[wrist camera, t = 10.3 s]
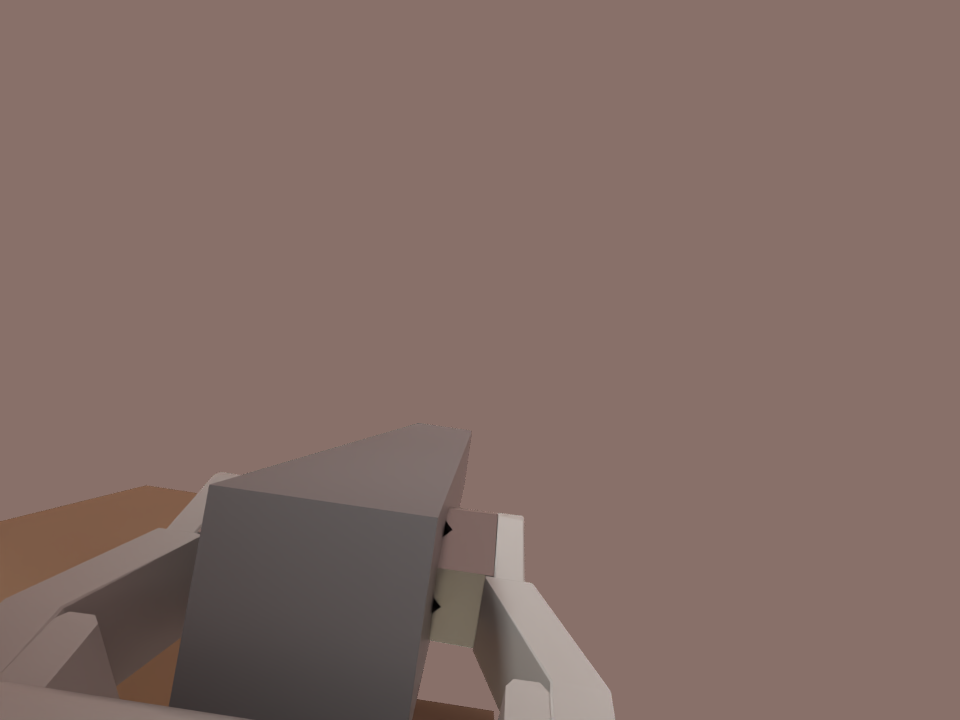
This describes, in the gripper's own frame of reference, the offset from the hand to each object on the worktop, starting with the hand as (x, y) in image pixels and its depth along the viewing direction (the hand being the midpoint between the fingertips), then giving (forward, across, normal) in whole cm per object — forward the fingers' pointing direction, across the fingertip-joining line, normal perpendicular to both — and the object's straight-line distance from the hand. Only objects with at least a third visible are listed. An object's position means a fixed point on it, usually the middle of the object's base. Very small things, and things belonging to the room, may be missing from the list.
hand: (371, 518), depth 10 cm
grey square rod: (+5, 0, +5) cm, 7 cm away
